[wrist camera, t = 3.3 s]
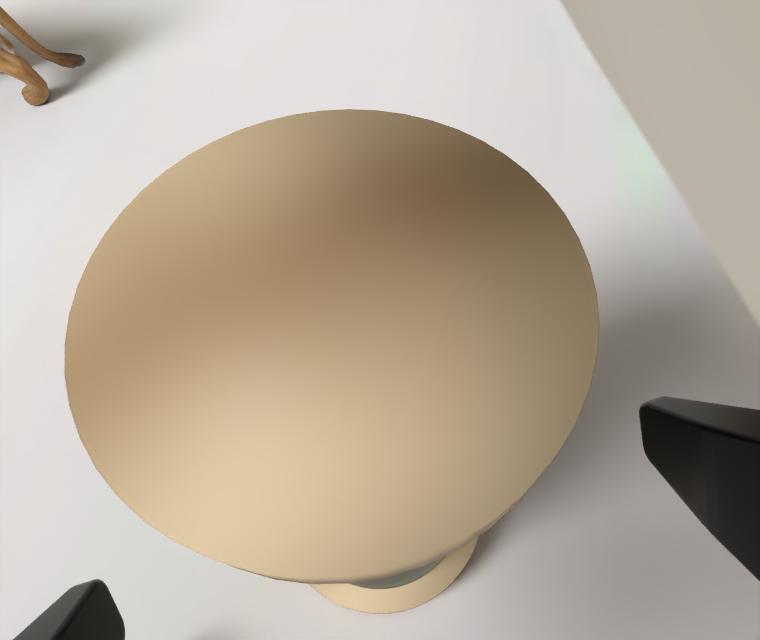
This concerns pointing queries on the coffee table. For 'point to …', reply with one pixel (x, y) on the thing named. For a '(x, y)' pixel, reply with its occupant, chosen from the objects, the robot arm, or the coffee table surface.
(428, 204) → the cord spool
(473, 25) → the coffee table surface
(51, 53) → the lion figurine
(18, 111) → the coffee table surface
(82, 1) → the coffee table surface
